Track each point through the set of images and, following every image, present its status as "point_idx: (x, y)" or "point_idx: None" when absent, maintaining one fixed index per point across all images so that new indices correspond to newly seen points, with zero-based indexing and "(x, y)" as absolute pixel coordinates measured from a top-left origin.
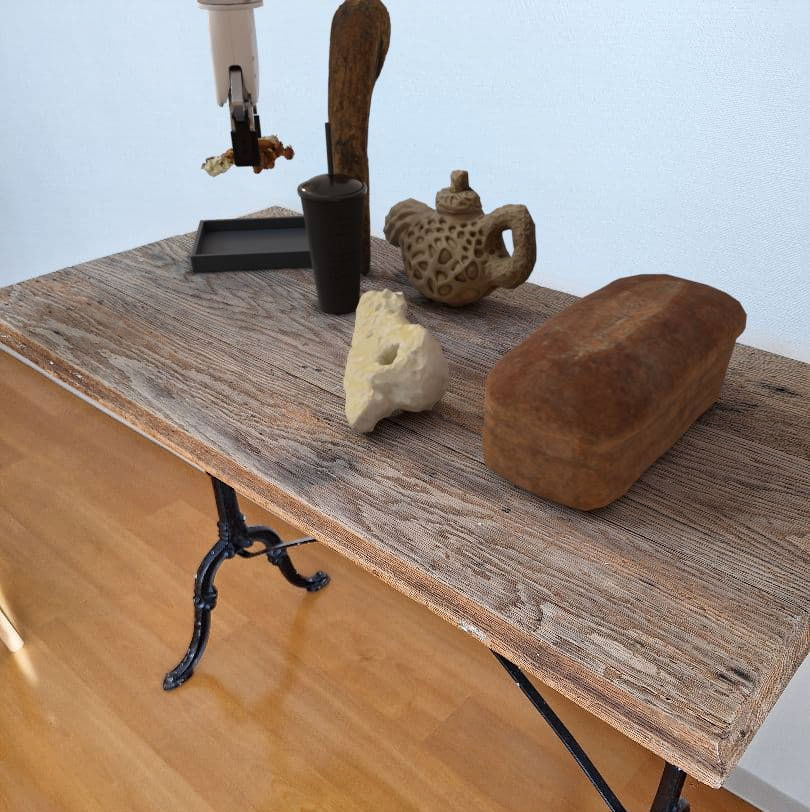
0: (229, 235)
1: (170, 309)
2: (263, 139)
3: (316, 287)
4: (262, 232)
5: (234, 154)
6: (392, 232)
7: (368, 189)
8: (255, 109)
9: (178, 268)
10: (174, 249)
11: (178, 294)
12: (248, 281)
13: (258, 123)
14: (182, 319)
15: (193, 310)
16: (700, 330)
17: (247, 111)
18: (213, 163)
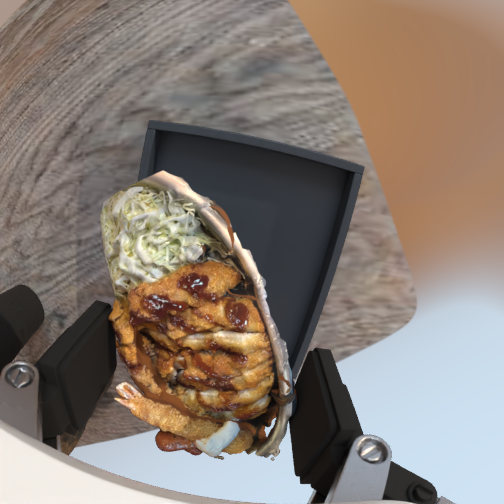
0: (309, 213)
1: (46, 98)
2: (177, 433)
3: (5, 292)
4: (300, 276)
5: (82, 319)
6: None
7: None
8: (310, 497)
9: (188, 98)
10: (293, 100)
11: (84, 103)
12: (98, 212)
13: (294, 462)
14: (21, 118)
15: (35, 129)
16: None
17: (320, 478)
18: (122, 231)
